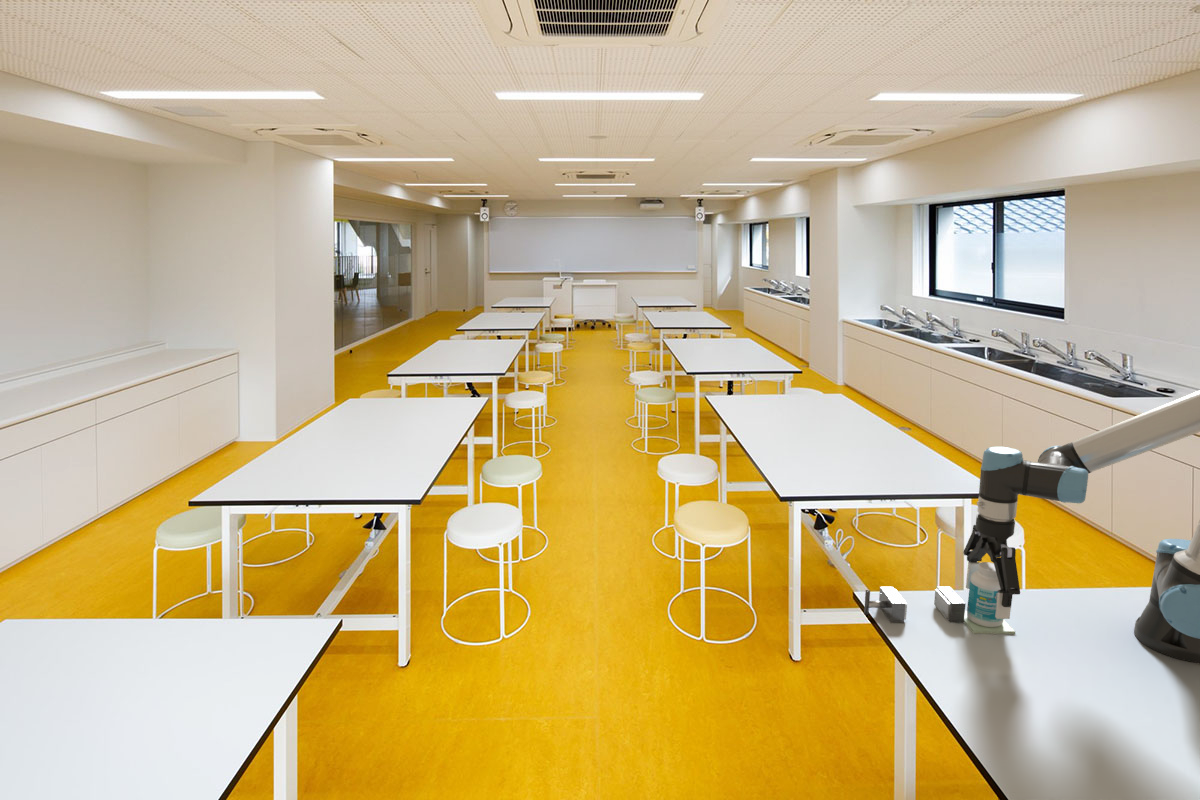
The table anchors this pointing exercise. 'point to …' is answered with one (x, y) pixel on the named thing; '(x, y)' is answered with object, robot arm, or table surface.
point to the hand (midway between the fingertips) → (986, 602)
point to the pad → (979, 629)
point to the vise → (897, 606)
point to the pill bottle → (984, 596)
